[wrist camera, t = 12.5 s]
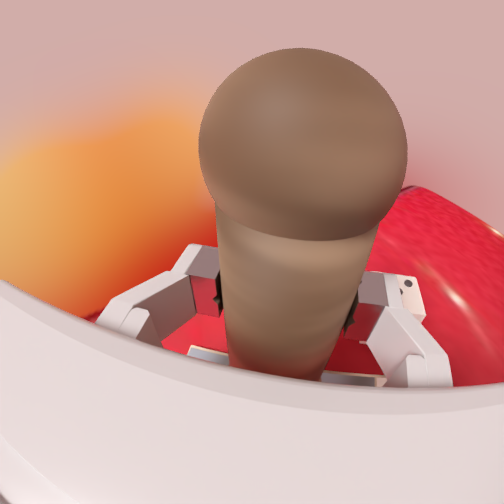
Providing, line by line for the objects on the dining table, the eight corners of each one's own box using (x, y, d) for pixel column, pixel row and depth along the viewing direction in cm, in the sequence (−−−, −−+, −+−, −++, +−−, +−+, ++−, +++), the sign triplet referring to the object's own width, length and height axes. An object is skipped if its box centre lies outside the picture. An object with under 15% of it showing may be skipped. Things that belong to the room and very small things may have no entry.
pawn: (322, 359, 15) (395, 71, 6) (311, 440, 11) (482, 80, 2) (237, 345, 16) (229, 54, 7) (212, 421, 12) (128, 47, 3)
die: (398, 308, 24) (415, 273, 22) (404, 347, 21) (426, 313, 18) (354, 302, 25) (367, 266, 23) (355, 343, 22) (372, 308, 19)
